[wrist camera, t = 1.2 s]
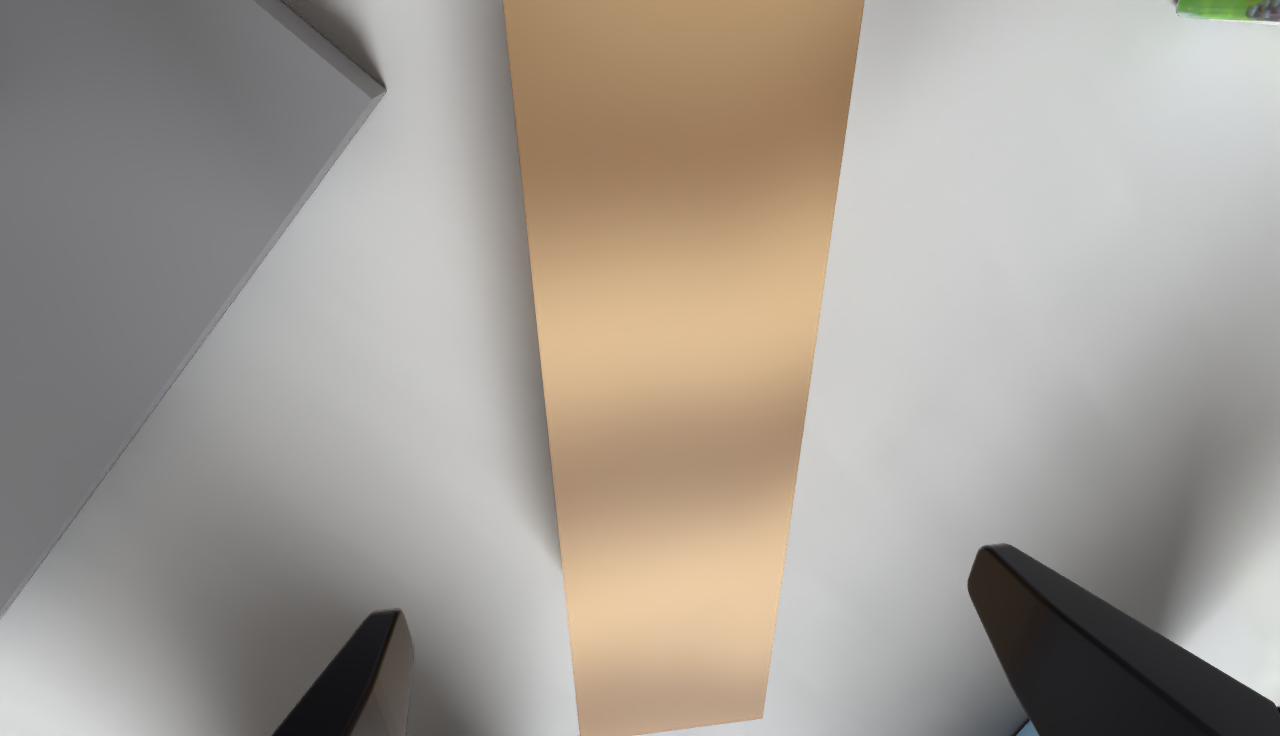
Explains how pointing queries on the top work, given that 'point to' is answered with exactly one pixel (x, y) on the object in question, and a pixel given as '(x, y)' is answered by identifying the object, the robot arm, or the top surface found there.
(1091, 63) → the top surface
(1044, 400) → the top surface
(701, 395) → the wooden block
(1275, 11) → the syrup box
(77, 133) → the peg stand
